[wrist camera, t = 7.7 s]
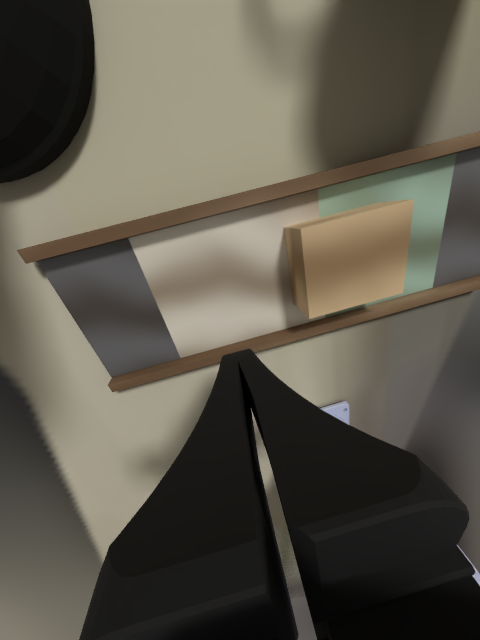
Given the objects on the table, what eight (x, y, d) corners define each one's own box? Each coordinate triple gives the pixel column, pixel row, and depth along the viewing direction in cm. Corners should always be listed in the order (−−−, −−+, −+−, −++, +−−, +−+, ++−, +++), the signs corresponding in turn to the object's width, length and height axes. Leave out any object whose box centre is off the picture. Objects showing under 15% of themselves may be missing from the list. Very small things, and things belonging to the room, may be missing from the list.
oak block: (373, 281, 18) (403, 292, 15) (293, 304, 18) (309, 319, 15) (377, 202, 15) (414, 199, 13) (283, 227, 15) (300, 229, 13)
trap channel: (478, 281, 20) (494, 284, 19) (117, 382, 19) (112, 392, 18) (522, 121, 15) (547, 114, 14) (31, 247, 14) (16, 250, 13)
